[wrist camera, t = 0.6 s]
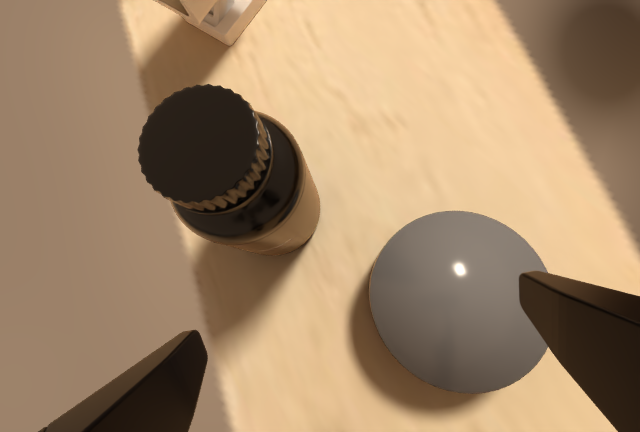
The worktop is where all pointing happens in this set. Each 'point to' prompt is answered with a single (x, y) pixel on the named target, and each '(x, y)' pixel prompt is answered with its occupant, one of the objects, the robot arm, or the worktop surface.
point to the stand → (456, 302)
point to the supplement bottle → (229, 171)
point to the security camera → (217, 15)
